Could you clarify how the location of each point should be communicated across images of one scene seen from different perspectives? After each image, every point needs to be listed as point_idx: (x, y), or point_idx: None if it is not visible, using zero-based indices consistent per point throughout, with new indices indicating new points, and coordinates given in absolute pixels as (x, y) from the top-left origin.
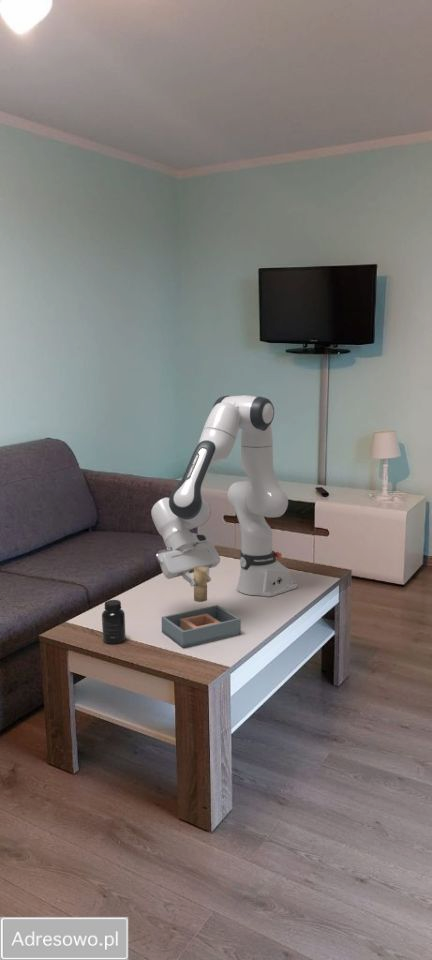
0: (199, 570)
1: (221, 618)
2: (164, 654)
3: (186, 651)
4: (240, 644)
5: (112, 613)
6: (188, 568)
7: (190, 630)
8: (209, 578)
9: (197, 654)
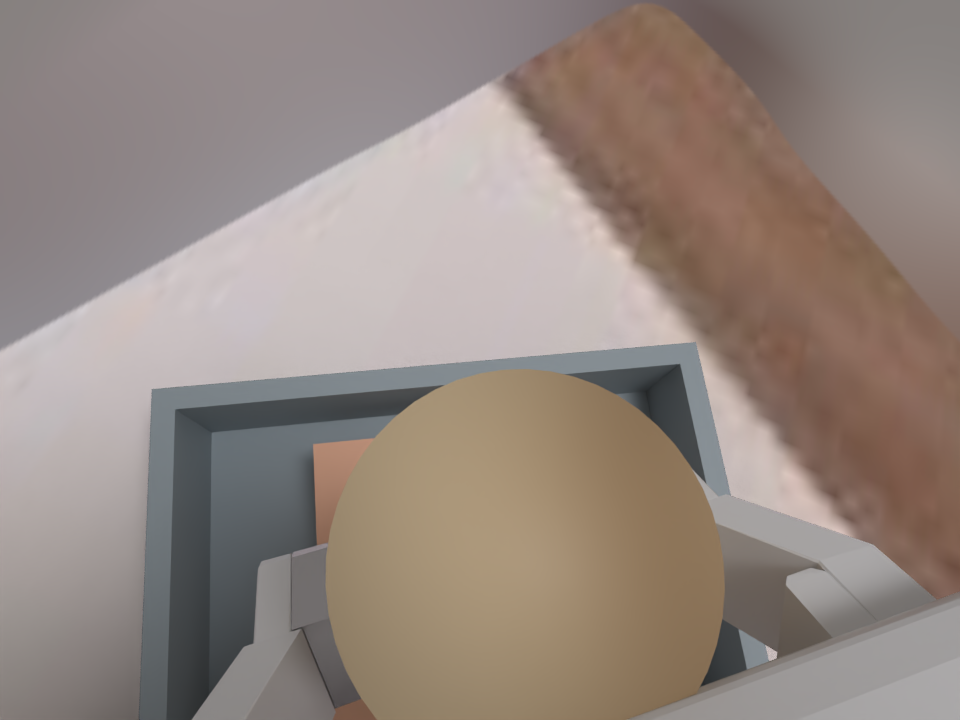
0: (612, 394)
1: (201, 686)
2: (779, 347)
3: (643, 330)
4: (291, 280)
5: None
6: (892, 642)
7: (630, 349)
8: (293, 561)
9: (595, 266)
